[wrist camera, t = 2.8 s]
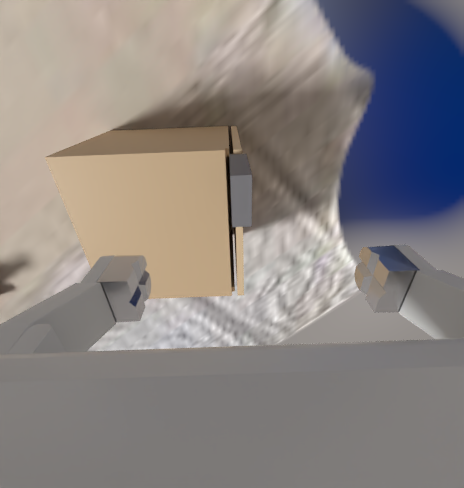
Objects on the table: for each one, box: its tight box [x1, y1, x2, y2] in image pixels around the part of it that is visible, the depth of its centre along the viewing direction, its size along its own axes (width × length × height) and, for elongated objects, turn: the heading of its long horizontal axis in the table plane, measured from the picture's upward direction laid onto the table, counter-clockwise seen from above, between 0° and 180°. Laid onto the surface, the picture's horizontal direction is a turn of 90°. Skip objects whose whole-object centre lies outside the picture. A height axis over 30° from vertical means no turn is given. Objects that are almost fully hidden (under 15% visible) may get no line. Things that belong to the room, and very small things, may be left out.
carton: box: [45, 126, 235, 299], centre depth 27 cm, size 14×13×12 cm
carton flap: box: [229, 126, 252, 295], centre depth 25 cm, size 14×1×17 cm, turn 2°
